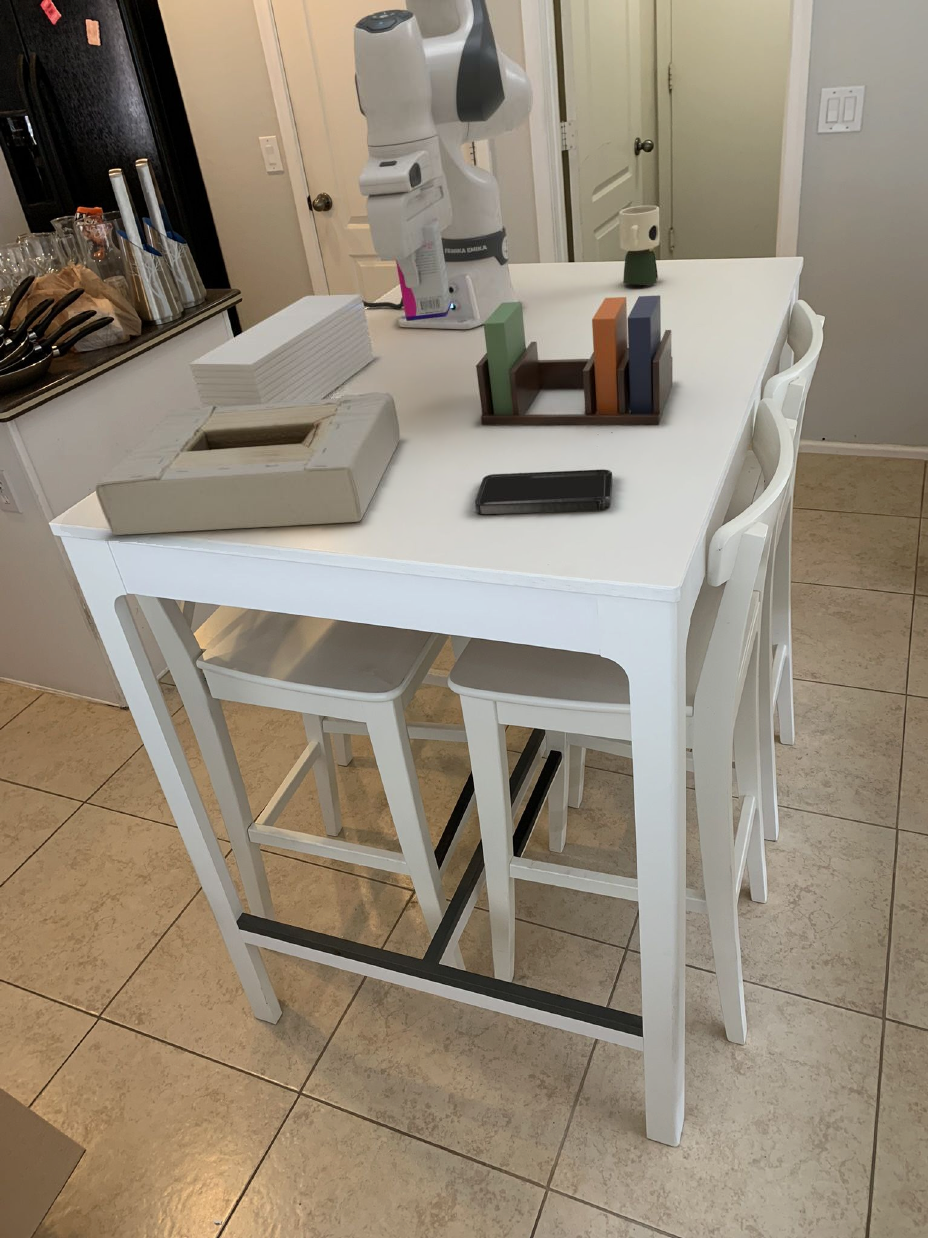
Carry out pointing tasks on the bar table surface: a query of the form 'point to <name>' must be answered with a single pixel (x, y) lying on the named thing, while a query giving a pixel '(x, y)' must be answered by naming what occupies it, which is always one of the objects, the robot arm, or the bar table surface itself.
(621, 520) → the bar table surface
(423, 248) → the supplement box
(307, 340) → the white long layered block
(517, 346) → the green book
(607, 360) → the orange book
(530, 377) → the book rack
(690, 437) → the bar table surface
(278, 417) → the box
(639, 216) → the character mug
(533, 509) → the phone
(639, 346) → the navy book
